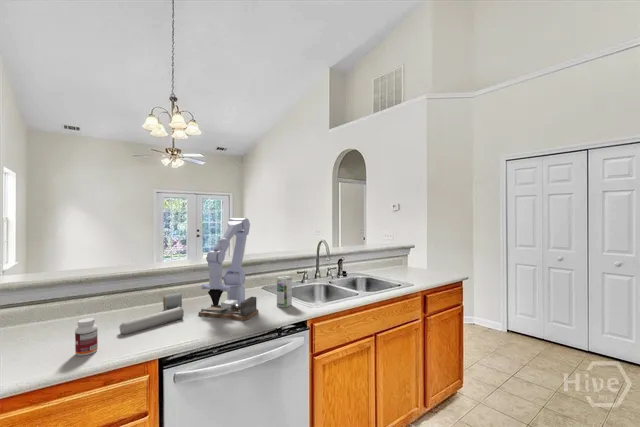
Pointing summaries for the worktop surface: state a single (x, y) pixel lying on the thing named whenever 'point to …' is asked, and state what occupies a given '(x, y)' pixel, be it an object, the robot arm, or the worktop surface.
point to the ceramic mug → (172, 301)
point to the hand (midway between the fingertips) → (215, 305)
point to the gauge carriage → (230, 305)
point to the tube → (151, 320)
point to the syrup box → (284, 291)
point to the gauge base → (242, 314)
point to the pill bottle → (86, 337)
